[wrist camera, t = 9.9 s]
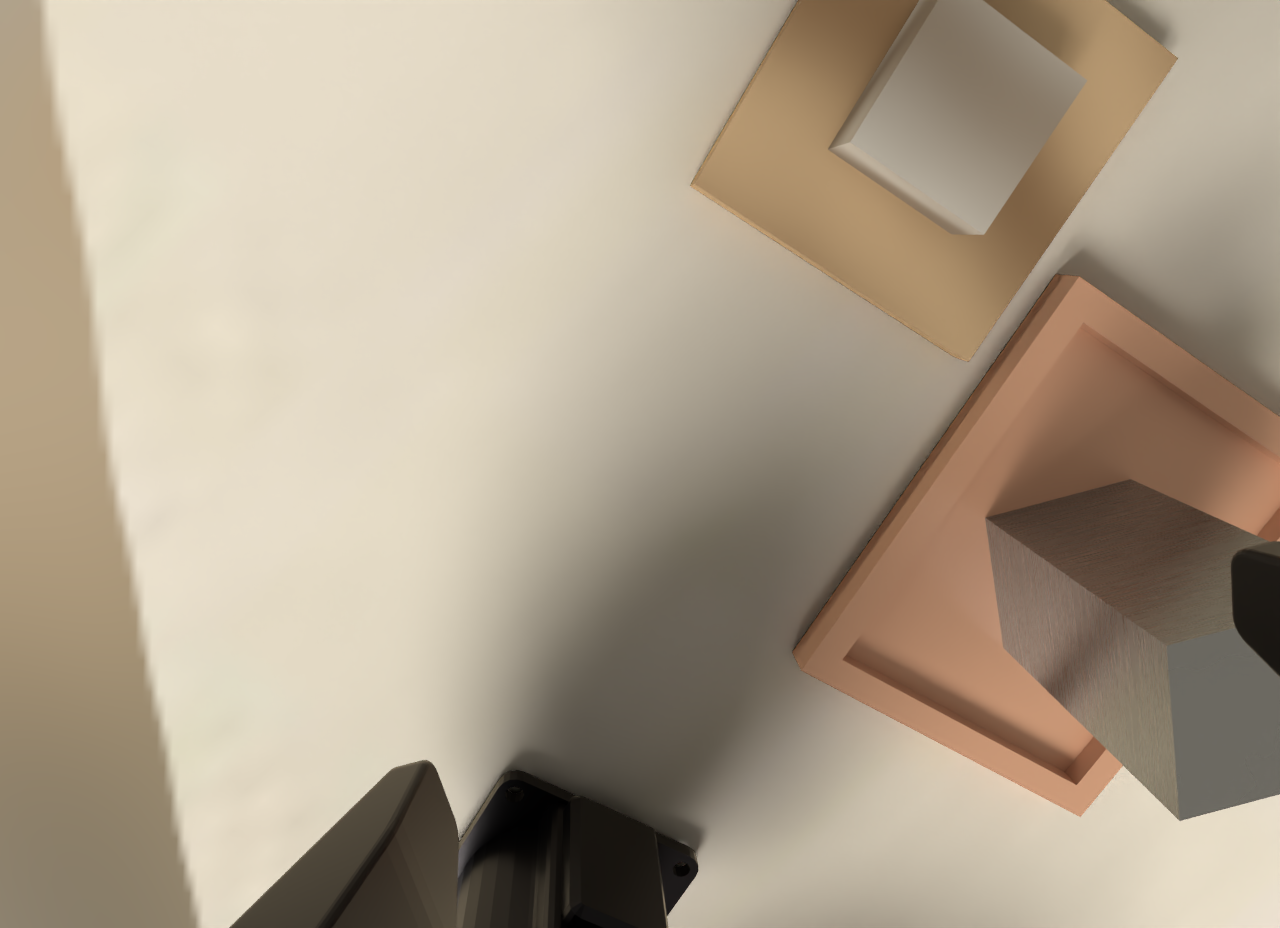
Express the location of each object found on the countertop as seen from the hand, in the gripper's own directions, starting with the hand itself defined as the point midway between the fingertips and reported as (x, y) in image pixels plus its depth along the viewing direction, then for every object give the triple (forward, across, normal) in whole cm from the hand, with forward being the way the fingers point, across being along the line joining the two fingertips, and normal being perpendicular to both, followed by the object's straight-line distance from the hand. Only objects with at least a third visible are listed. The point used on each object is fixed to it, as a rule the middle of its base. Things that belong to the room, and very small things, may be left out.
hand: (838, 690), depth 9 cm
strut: (+12, -9, +6) cm, 16 cm away
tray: (+12, -9, +6) cm, 17 cm away
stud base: (+12, -7, -6) cm, 15 cm away
